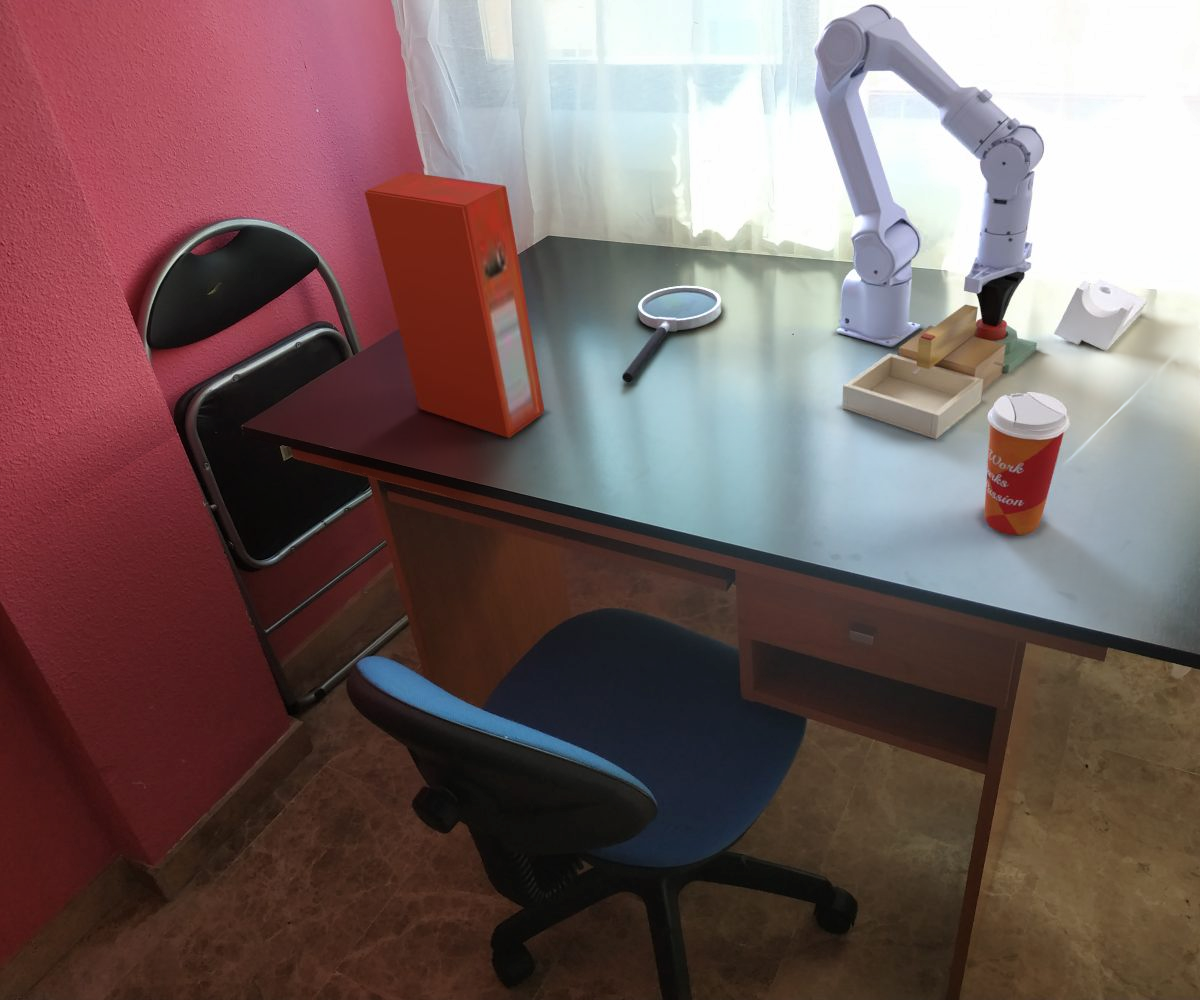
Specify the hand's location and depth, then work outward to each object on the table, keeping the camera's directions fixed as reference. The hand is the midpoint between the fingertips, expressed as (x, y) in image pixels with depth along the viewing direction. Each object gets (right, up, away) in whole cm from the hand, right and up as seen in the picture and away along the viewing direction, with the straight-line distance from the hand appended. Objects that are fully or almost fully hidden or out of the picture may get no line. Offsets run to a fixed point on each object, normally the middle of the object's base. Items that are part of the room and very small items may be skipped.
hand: (991, 323), depth 135 cm
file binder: (-71, -12, +5) cm, 72 cm away
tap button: (0, -2, +1) cm, 2 cm away
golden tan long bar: (-8, -4, -5) cm, 10 cm away
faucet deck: (-8, -8, -2) cm, 11 cm away
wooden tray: (-13, -12, -7) cm, 19 cm away
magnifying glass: (-44, +1, +18) cm, 48 cm away
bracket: (+18, 0, +5) cm, 18 cm away
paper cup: (-9, -27, -28) cm, 40 cm away
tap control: (0, -4, +3) cm, 4 cm away
